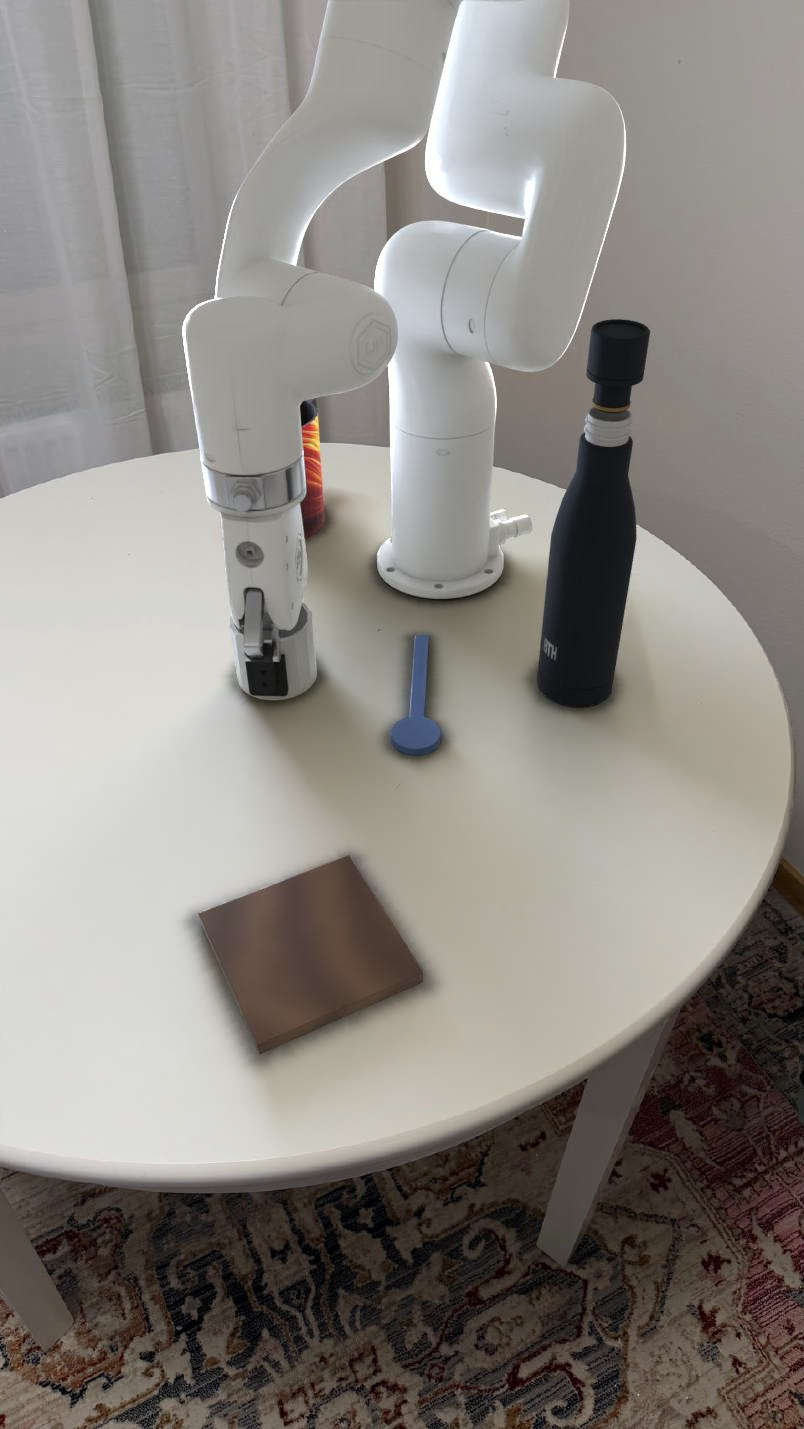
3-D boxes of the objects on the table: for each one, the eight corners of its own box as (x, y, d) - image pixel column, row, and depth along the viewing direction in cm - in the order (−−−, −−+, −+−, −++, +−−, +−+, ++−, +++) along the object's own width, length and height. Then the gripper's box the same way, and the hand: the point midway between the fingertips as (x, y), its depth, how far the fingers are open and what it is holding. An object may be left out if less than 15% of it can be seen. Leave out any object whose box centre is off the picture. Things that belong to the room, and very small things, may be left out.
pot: (298, 644, 91) (293, 588, 87) (329, 686, 86) (325, 628, 82) (227, 665, 88) (218, 609, 84) (254, 709, 84) (246, 651, 80)
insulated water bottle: (621, 672, 87) (680, 319, 68) (600, 716, 83) (656, 352, 63) (550, 654, 89) (588, 307, 70) (526, 695, 85) (559, 337, 65)
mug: (321, 479, 115) (315, 376, 107) (326, 541, 104) (319, 432, 97) (236, 484, 114) (223, 380, 107) (233, 546, 104) (218, 437, 96)
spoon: (399, 639, 91) (399, 633, 91) (443, 640, 91) (444, 634, 90) (389, 754, 79) (389, 748, 79) (440, 756, 79) (440, 749, 79)
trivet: (350, 863, 71) (349, 854, 70) (423, 981, 63) (423, 971, 62) (199, 921, 67) (197, 912, 66) (259, 1054, 59) (257, 1045, 59)
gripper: (288, 536, 68) (307, 733, 80) (318, 427, 81) (330, 609, 93) (179, 534, 68) (213, 731, 80) (226, 426, 82) (249, 608, 93)
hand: (276, 664), depth 86 cm, fingers closed on pot, 7 cm apart
